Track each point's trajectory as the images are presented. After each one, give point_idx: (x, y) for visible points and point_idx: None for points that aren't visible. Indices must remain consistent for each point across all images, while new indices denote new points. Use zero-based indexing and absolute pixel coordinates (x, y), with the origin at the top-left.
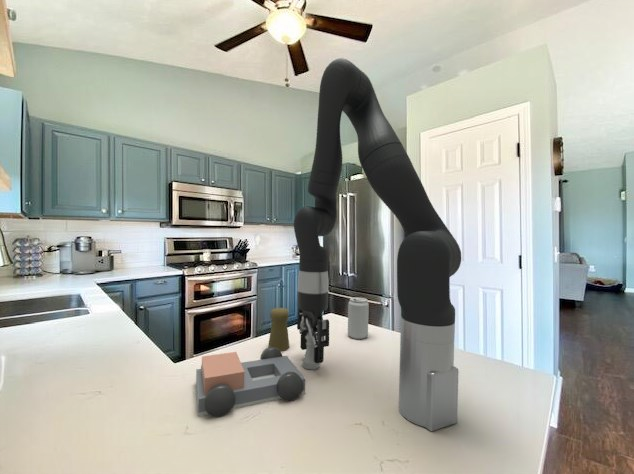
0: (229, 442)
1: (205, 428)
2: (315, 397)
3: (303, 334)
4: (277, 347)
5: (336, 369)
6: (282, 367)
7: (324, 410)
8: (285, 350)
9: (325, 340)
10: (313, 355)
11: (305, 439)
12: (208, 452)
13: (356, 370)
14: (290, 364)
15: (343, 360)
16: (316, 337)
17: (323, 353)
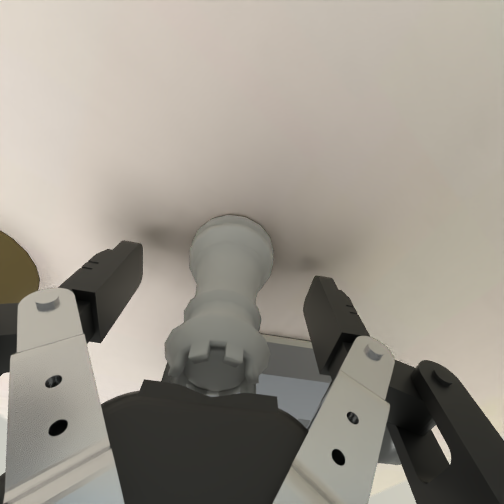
0: (382, 464)
1: None
2: (406, 340)
3: (91, 335)
4: (20, 300)
5: (328, 174)
6: (278, 405)
7: (463, 351)
8: (29, 258)
9: (433, 406)
10: (258, 288)
11: (481, 409)
12: (378, 478)
13: (415, 81)
14: (273, 383)
15: (271, 49)
16: (261, 355)
17: (345, 304)
